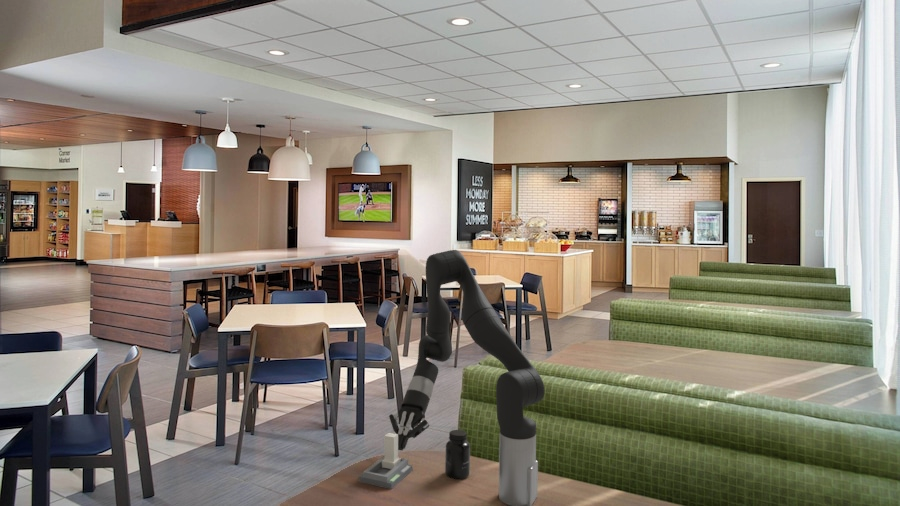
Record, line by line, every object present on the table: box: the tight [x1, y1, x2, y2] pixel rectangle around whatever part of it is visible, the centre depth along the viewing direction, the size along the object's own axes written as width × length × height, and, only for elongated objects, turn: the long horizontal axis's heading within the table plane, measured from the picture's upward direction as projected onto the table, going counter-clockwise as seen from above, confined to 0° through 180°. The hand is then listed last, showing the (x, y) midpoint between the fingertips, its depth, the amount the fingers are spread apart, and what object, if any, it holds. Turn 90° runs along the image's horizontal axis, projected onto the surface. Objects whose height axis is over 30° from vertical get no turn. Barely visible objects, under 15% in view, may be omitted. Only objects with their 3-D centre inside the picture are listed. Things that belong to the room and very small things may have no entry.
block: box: [382, 432, 402, 469], centre depth 170 cm, size 4×4×9 cm
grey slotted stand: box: [358, 455, 413, 490], centre depth 168 cm, size 10×12×3 cm
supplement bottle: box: [444, 429, 471, 480], centre depth 168 cm, size 7×7×12 cm
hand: (399, 449), depth 174 cm, fingers closed
